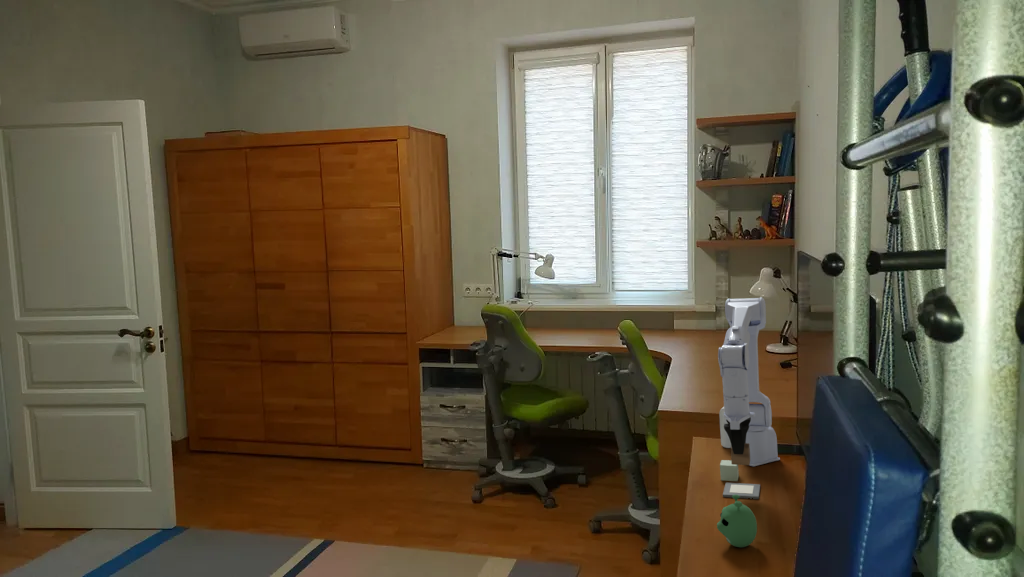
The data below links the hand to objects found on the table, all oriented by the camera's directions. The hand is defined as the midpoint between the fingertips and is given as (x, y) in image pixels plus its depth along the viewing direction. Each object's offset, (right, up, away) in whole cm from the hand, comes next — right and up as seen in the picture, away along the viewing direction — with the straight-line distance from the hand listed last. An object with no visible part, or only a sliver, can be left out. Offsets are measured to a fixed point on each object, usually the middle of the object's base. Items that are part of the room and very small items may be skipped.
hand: (739, 450), depth 166 cm
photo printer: (+11, -7, +37) cm, 39 cm away
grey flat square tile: (+1, -10, +1) cm, 10 cm away
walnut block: (0, -3, 0) cm, 3 cm away
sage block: (+1, -9, +10) cm, 14 cm away
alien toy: (-9, -13, -27) cm, 31 cm away
